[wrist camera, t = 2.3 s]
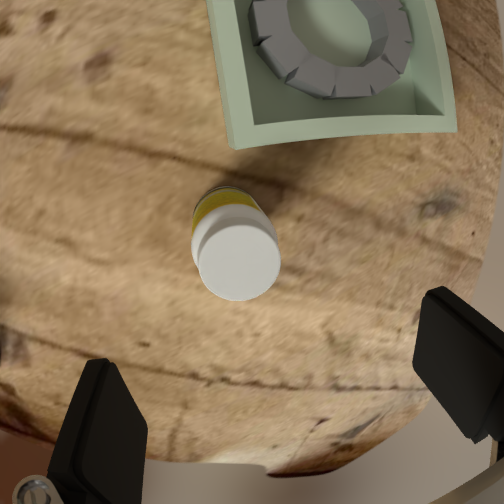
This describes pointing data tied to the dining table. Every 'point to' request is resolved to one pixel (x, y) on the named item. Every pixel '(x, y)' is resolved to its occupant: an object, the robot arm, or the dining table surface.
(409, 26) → the socket box
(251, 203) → the supplement bottle
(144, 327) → the dining table surface
